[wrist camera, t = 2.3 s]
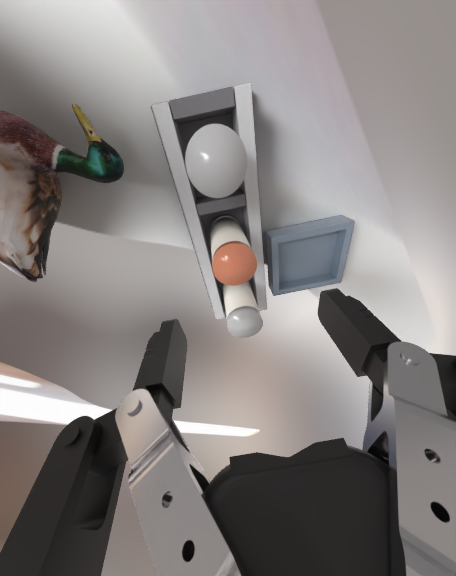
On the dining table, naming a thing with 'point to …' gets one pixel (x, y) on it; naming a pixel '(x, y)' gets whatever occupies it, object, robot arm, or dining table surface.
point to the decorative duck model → (40, 187)
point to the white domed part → (216, 160)
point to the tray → (308, 254)
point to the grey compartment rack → (198, 207)
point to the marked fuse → (231, 252)
